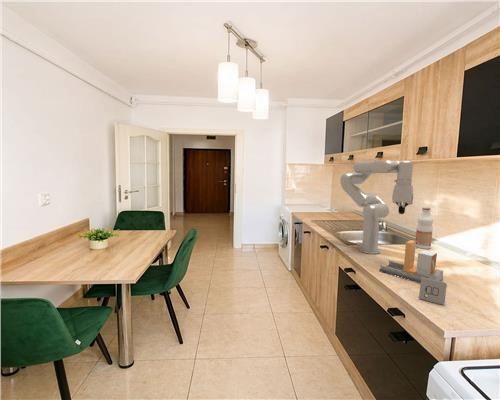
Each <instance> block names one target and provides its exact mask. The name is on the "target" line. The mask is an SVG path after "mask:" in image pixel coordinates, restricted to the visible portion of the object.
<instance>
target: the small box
mask: <svg viewBox="0 0 500 400" xmlns="http://www.w3.org/2000/svg"><path fill="white" fill-rule="evenodd" d="M437 255H438V253H437V252H435V251H430V250H427V249H422V250H421V251H419V252H418V253H417V262H416V267H417V271H416V275H419V276H423V277H427V278H429V274H431V273H432V272H433V271H435V270H436V265H437V257H438V256H437Z"/></svg>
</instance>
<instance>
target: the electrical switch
mask: <svg viewBox="0 0 500 400" xmlns="http://www.w3.org/2000/svg"><path fill="white" fill-rule="evenodd" d="M419 287H420V288H419V293H418V298H419V299H420V300H423V301H426V302H431V303H435V304H438V305H442V306H443V305H445V304H446V295H447V287H448V284H447V282H445V281H437V280H432V279H428V278H421V283H420V286H419Z"/></svg>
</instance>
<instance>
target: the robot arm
mask: <svg viewBox="0 0 500 400" xmlns="http://www.w3.org/2000/svg"><path fill="white" fill-rule="evenodd" d="M352 169H353V171H354V172H344V173H343V174H342V175H341V176H340V179H339V181H340V185H341V189H343V191H344V192H345V193H346V194H347V195H348V196H349V197H350V199H352V200H353V202H354V203H355V204H356V205H357V206H358V207H359V208H363V209H362V216H363V217H362V218H363V228H362V229H363V230H362V241H361V242H359V241H357V243H356V246H357V247H359V248H358V249H359V251H360V252H361V253H364V254H371V255H377V254H380V253H381V250H380V249H379V235H380V234H379V233H380V223H379V220H378V219H383V218H386V217H388V216H389V215H390V209H389V207H388V205H387V204H386V203H385V202H384V201H383V200H382V199H381V198H380V197H379V196H378V195H377V194H375V193H372V192H368V193H367V192H364V191H363V190H362V189H361V188H360V187H359V186H357V185H361V184H364V182H366V180H368V178H369V177H370V176H371V175H372V174H373V175H374V174H397V175H396V179H395V180H394V181H393V182H394V183H396V184H394V186H393V191H392V196H391V199H392V201H391V202H392V203H394V204H395V205H397V207H398V214H399V215H404V214H405V213H406V208H407V206H412V205H413V203H414V202H413V201H414V187H413V184H412V181H413V170H414V163H413V161H412V160H393V159H392V160H389V159H388V160H387V159H386V160H384V159H383V160H359V161H356V162H355V163H354V164H353V167H352Z"/></svg>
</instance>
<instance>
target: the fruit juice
mask: <svg viewBox="0 0 500 400" xmlns="http://www.w3.org/2000/svg"><path fill="white" fill-rule="evenodd" d="M431 210H432V209H431V208H430V207H422V212H421V214H420V215H419V216H418V218H417V226H416V233H415V241H416V246H415V248H418V249H422V250H429V249H431V247H432V240H433V239H432V237H433V223H434V219H433V217H432V215H431Z"/></svg>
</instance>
